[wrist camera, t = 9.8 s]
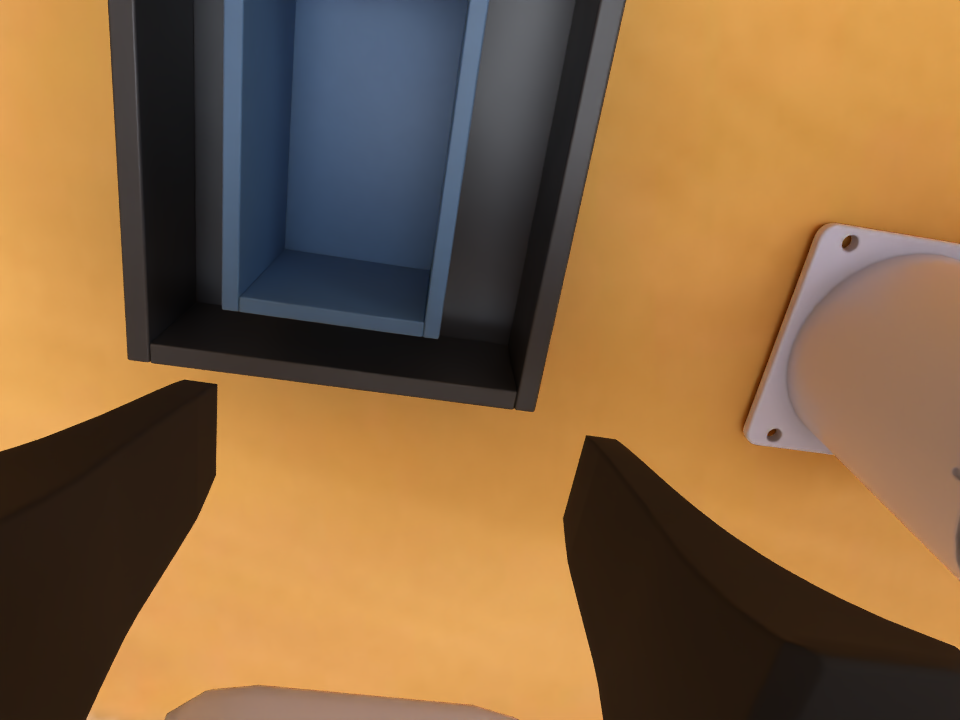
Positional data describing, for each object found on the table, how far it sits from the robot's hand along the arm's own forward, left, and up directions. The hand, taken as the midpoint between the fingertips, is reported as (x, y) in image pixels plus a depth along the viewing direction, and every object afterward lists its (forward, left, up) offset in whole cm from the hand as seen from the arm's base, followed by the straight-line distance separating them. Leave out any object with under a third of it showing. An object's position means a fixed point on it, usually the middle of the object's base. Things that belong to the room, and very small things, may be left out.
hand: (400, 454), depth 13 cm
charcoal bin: (+2, -5, -9) cm, 11 cm away
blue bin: (+2, -5, -9) cm, 10 cm away
